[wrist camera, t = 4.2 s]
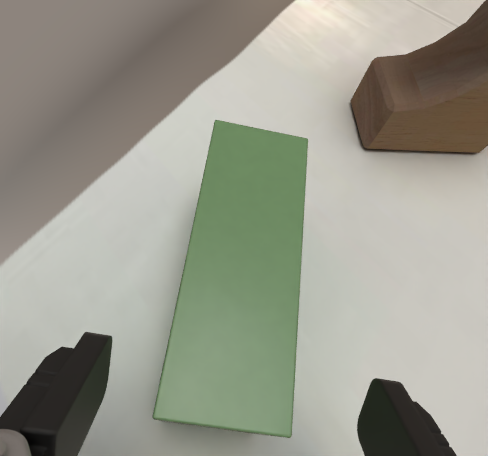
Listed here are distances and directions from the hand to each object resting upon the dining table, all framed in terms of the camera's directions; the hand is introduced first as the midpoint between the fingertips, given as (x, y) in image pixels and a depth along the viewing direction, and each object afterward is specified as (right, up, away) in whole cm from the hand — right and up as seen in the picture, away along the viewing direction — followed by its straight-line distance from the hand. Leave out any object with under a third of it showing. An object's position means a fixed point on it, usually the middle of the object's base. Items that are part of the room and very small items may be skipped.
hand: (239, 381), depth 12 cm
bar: (-1, 0, +12) cm, 12 cm away
